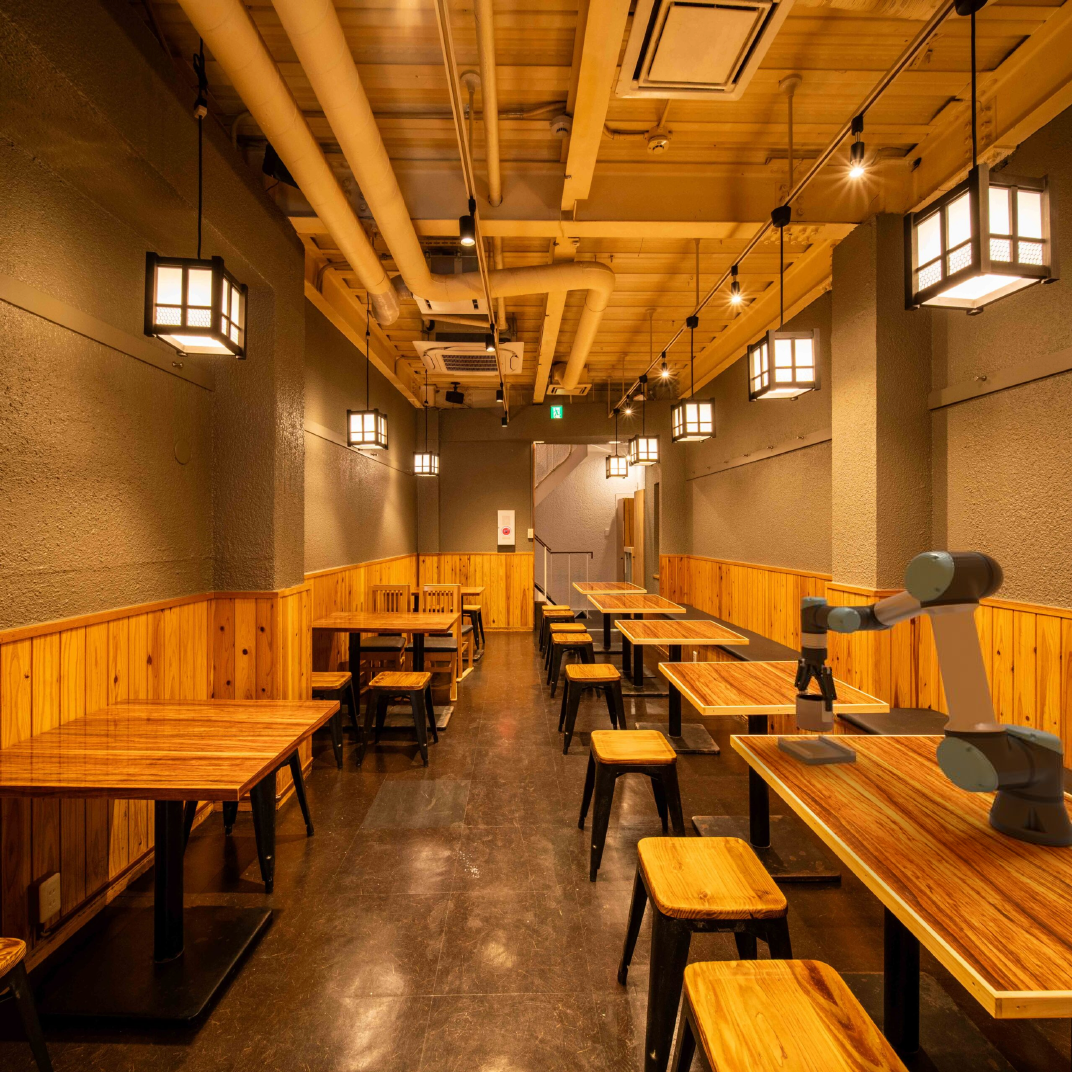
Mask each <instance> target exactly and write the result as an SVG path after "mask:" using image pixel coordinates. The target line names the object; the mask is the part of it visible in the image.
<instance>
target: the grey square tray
mask: <svg viewBox="0 0 1072 1072" xmlns="http://www.w3.org/2000/svg"><path fill="white" fill-rule="evenodd" d="M817 737H818V738H817V739H802V740H801V739H799V740H788V739H786V738H785V737H782V736H778V737H777V748H778V750H781V751H783V752H784V753H786V754H788V755H789V756H791V757H792V758H794V759H796V760H798V761H799V762H801V763H802V764H804V765H807V766H819V765H835V764H849V763H850V764H851V763H857V750H854V749H852V748H850V747H848V746H847V745H844V744H842V743H841V742H839V741H836V740H834V739H832V738H830V737H827V736H826V735H823V734H819V735H818V736H817Z"/></svg>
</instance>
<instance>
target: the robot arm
mask: <svg viewBox="0 0 1072 1072" xmlns="http://www.w3.org/2000/svg"><path fill="white" fill-rule="evenodd" d="M910 560H911V561H910V562H909V564H908V565H907V566H906V568H905V571H904V577H903V583H904V587H905V590H904V591H902V592H901V591H900V592H899V593H896V594H893V595H892V596H889V597H887V598H883V599H882V600H881V599H880V601H877V602H874V603H872V604H869V605H853V606H847V605H846V606H845V605H844V606H840V605H839V606H835V605H829V604H828V600H827V598H825V597H822V596H821V597H820V596H819V597H818V596H805V597H803V598H802V599H801V600H800V601H801V602H800V624H801V625H800V630H801V631H800V644H801V645H802V646H801V648H800V649H801V651H800V652H801V658H800V659H797V670H796V674H795V680H794V684H793V686H794V687H795V688H797V691H798V694H802V693H809V688H808V687H809V684H810V683H811V681H812V678H813V679H814V680H815V681H816V682H817V685H818V688H819V689H820V693H821V695H822V696H823V699H822V722H832V721H831V712H832V701H833V702H834V701H837V700H838V695H837V691H836V686H835V682H834V677H833V667H832V666H826V664H825V661H827V660H828V657H829V656H828V655H829V653H828V652H829V651H828V647H827V646H828V631H831V632H836V633H838V634H848V635H849V634H853V633H855V632H863V631H864V632H867V631H868V632H869V631H875V632H876V631H877V632H882V631H888V630H891V629H893V628H894V627H895V625H896V624H899V623H901V622H904V621H905V622H906V621H907V620H908V621H909V620H911V619H913V618H916V617H919V616H922V615H925V614H926V615H928V617H929V618H930V624H931V629H932V633H933V640H934V645H935V650H936V655H937V659H938V660H937V661H938V666H939V671H940V675H941V680H942V681H941V682H942V686H943V692H944V696H945V697H944V698H945V701H946V707H947V711H948V712H947V713H948V718H949V720H948V722H947V723H946V724H945V725H944V726H943V731H944V737H945V738H943V739H942V740H941V741H939V743H938V746H937V747H936V749H935V750H936V751H935V753H936V754H935V755H936V760H937V763H938V766H939V768H940V770H941V772H942V773H943V774H944V776H945V777H946V778H947V779H949V780H950V782H951V784H953V786H955V787H957V788H959V789H961V790H962V791H965V792H968V793H977V794H978V793H984V794H989V793H994V792H997V793H996V795H995V797H994V800H993V802H992V806H991V808H990V809H989V811H988V812H989V817H988V818H989V821H988V822H989V824H990V825H991V826H992V827H993V828H994V829H996V831H999V832H1001V833H1002V834H1005V835H1007V836H1009V837H1012V838H1015V839H1018V840H1021V841H1025V842H1027V843H1028V842H1029V843H1032V844H1035V845H1042V846H1048V847H1050V846H1051V847H1069V846H1072V822H1071V819H1070V816H1069V813H1068V811H1067V808H1066V805H1065V781H1064V779H1065V778H1064V776H1065V775H1064V771H1065V770H1064V756H1065V753H1064V748H1063V742H1062V739H1061V738H1059V737H1058V736H1057V735H1055V734H1053V733H1050V732H1048V731H1043V730H1041V729H1036V728H1032V727H1028V726H1022V725H1017V724H1010V723H1000V722H998V720H997V719H996V715H995V714H996V713H995V711H994V710H995V709H994V705H993V701H992V700H993V699H992V695H991V690H990V686H989V680H988V677H987V670H986V667H985V666H986V665H985V662H984V658H983V657H984V656H983V653H982V648H981V642H980V639H979V634H978V629H977V624H976V623H977V622H976V619H975V612H976V610H977V609H978V608H980V607H981V604H980V600H983V599H988V598H990V597H992V596H993V595H995V594H997V592H999V591H1000V589H1001V588H1002V586H1003V583H1004V579H1005V576H1004V570H1003V568H1002V566H1001V564H1000V563H999V562H998V561H997V560H996V559H995V558H993V557H992V556H991V555H989V554H986V553H983V552H979V551H951V550H950V551H949V550H947V551H946V550H945V551H943V550H938V551H927V552H922V553H919V554H918V555H916V556H915V557H913V558H912V559H910Z"/></svg>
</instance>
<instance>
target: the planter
mask: <svg viewBox="0 0 1072 1072" xmlns="http://www.w3.org/2000/svg"><path fill="white" fill-rule="evenodd" d="M822 699H823V696H822V693H821V694H820V693H814V692H813V693H811V692H808V693H802V694H799V693H798V694H796V695H795V725H796V727H798V729H801V730H804V731H808V732H813V733H829V732H831V731H833V730H834V728H835V722H834V721H835V719H834V717H835V716H834V700H833V701H832V712H831V721H832V722H822Z"/></svg>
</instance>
